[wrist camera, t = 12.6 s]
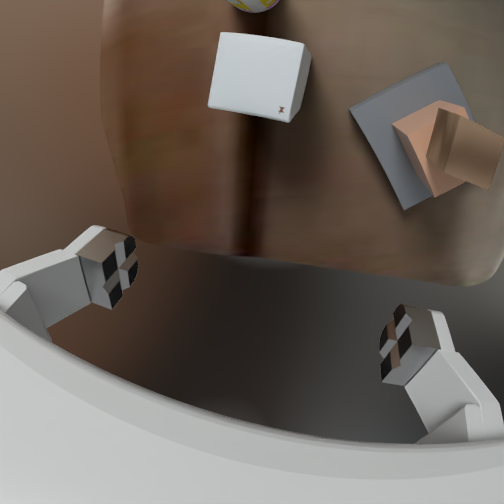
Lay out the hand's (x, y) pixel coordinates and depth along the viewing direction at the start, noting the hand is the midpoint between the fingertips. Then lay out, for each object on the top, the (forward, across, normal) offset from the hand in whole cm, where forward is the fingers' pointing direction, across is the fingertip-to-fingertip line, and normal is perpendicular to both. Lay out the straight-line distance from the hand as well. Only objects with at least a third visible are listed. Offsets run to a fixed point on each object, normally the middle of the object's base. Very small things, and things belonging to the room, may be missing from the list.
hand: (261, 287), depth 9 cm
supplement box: (+31, +5, -5) cm, 32 cm away
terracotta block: (+28, -14, -3) cm, 32 cm away
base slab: (+31, -14, -3) cm, 34 cm away
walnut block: (+21, -14, -4) cm, 26 cm away
